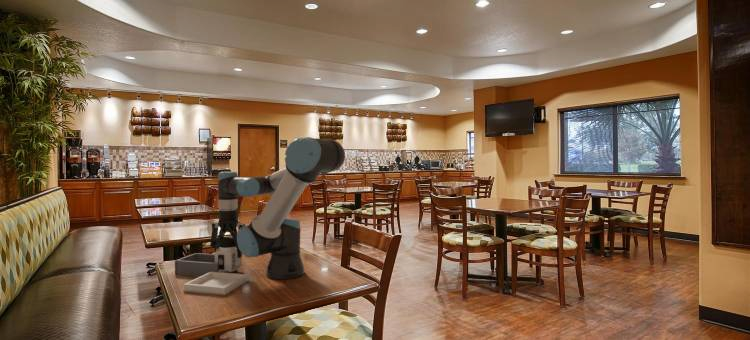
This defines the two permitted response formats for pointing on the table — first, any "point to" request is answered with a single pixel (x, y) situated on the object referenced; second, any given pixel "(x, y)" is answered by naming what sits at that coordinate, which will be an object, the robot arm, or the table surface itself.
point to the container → (227, 255)
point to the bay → (196, 264)
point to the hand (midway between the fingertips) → (228, 264)
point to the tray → (216, 283)
